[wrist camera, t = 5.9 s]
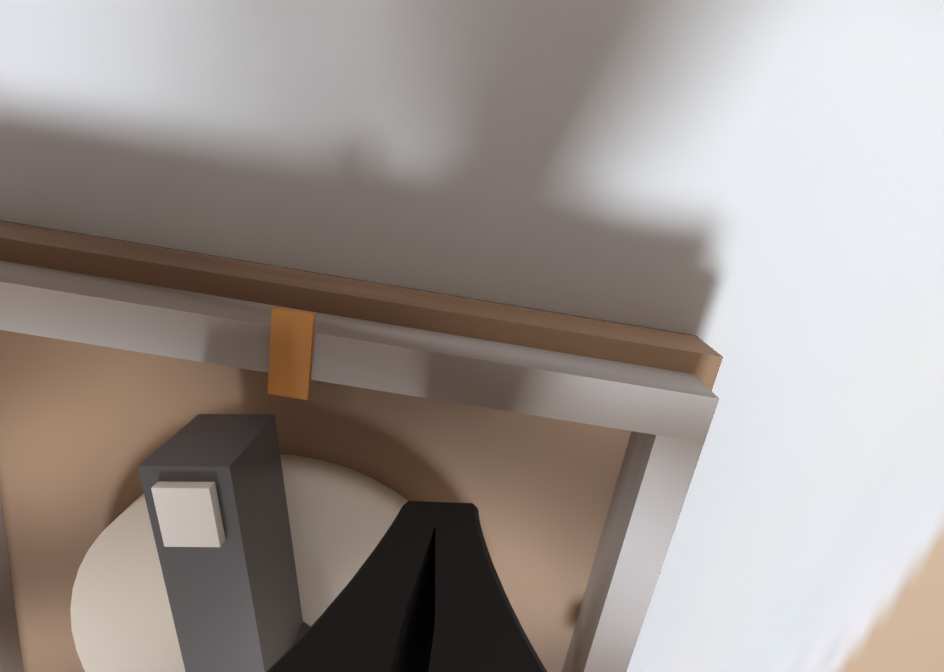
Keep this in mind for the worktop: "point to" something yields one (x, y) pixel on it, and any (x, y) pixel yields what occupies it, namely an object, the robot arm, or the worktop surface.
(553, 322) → the dial housing
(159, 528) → the dial
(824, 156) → the worktop surface
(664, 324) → the worktop surface
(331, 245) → the worktop surface
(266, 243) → the worktop surface
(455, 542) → the robot arm
